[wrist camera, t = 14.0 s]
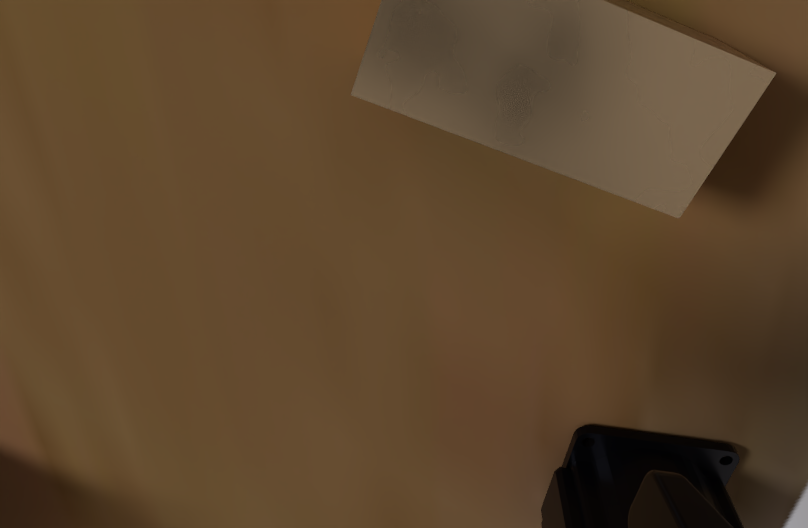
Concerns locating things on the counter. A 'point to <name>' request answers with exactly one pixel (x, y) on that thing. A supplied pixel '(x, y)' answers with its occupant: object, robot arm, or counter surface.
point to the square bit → (568, 88)
